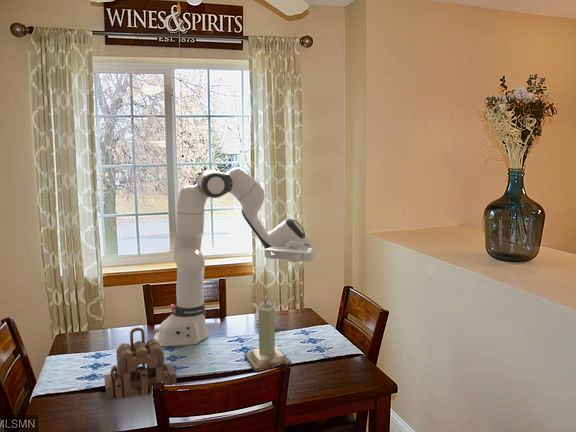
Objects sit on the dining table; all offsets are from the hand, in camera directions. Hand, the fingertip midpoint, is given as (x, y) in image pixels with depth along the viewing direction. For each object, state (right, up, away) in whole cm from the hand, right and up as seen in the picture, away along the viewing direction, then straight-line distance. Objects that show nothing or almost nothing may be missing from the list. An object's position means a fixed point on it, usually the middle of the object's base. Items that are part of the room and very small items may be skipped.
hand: (282, 257), depth 194 cm
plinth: (-6, -38, -10) cm, 39 cm away
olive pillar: (-6, -34, -10) cm, 36 cm away
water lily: (-9, -33, +28) cm, 44 cm away
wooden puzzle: (-48, -41, -29) cm, 69 cm away
